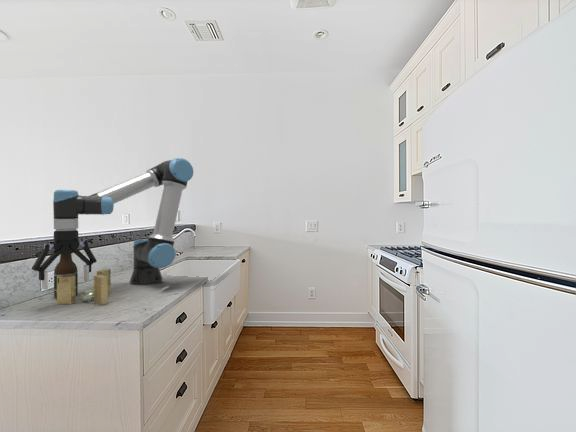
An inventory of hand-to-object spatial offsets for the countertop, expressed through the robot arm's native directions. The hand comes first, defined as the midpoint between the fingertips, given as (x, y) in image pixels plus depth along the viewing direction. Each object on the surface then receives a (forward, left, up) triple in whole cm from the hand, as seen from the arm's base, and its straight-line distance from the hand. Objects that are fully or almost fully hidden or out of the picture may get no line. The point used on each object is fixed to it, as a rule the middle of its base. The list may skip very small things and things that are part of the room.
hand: (66, 284), depth 109 cm
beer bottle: (+2, -11, -9) cm, 14 cm away
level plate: (-8, 0, -8) cm, 11 cm away
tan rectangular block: (0, 0, -7) cm, 7 cm away
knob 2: (-12, -7, -7) cm, 15 cm away
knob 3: (-12, +7, -7) cm, 15 cm away
